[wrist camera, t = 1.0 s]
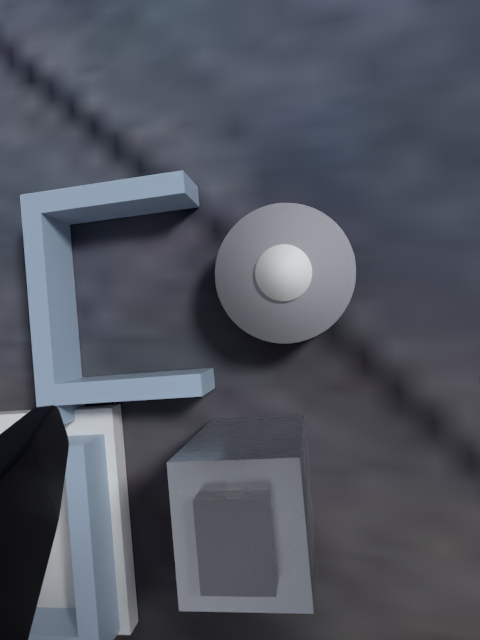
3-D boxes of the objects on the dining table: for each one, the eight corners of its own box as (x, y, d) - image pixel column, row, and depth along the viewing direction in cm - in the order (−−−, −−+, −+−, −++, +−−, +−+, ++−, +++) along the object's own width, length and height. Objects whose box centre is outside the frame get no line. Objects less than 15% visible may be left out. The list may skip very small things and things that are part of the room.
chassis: (235, 624, 22) (222, 671, 19) (-52, 616, 24) (-103, 657, 21) (197, 187, 22) (179, 166, 19) (-81, 227, 25) (-134, 214, 22)
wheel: (356, 335, 21) (363, 337, 18) (231, 345, 22) (220, 349, 19) (345, 209, 21) (349, 192, 18) (220, 224, 22) (207, 211, 19)
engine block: (314, 518, 21) (313, 630, 13) (221, 520, 22) (171, 627, 14) (304, 413, 21) (298, 465, 14) (212, 418, 22) (158, 470, 14)
